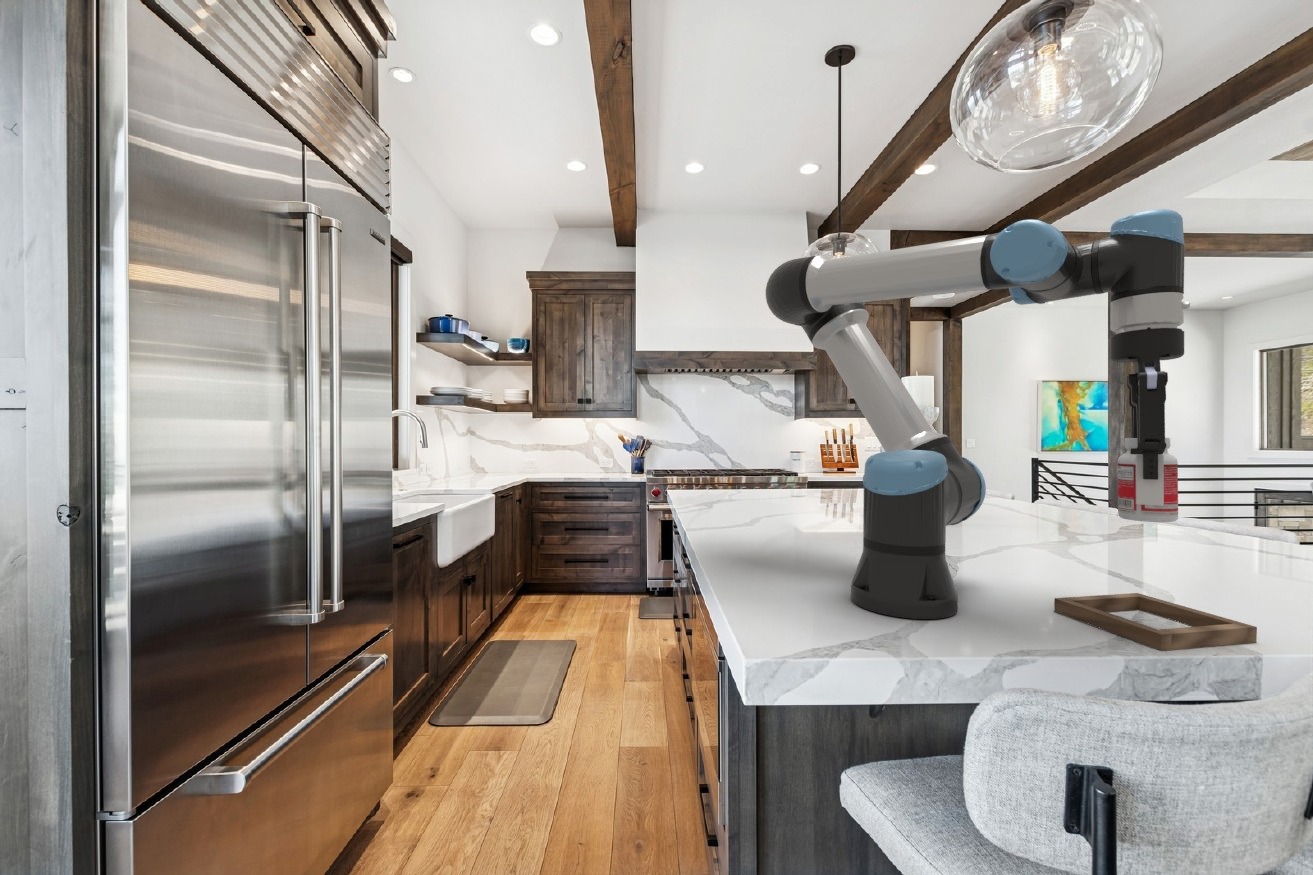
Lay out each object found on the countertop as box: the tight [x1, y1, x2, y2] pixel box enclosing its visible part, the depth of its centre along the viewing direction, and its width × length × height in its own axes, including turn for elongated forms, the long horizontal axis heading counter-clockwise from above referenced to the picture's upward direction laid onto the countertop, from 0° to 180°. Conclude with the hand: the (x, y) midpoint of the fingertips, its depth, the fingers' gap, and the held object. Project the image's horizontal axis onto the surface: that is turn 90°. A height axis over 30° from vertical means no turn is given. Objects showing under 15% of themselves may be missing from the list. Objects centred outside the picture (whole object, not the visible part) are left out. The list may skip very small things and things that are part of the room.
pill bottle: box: [1117, 437, 1179, 523], centre depth 77 cm, size 6×6×11 cm
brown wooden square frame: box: [1053, 592, 1258, 651], centre depth 79 cm, size 15×15×2 cm
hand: (1146, 501), depth 77 cm, fingers closed on pill bottle, 6 cm apart
